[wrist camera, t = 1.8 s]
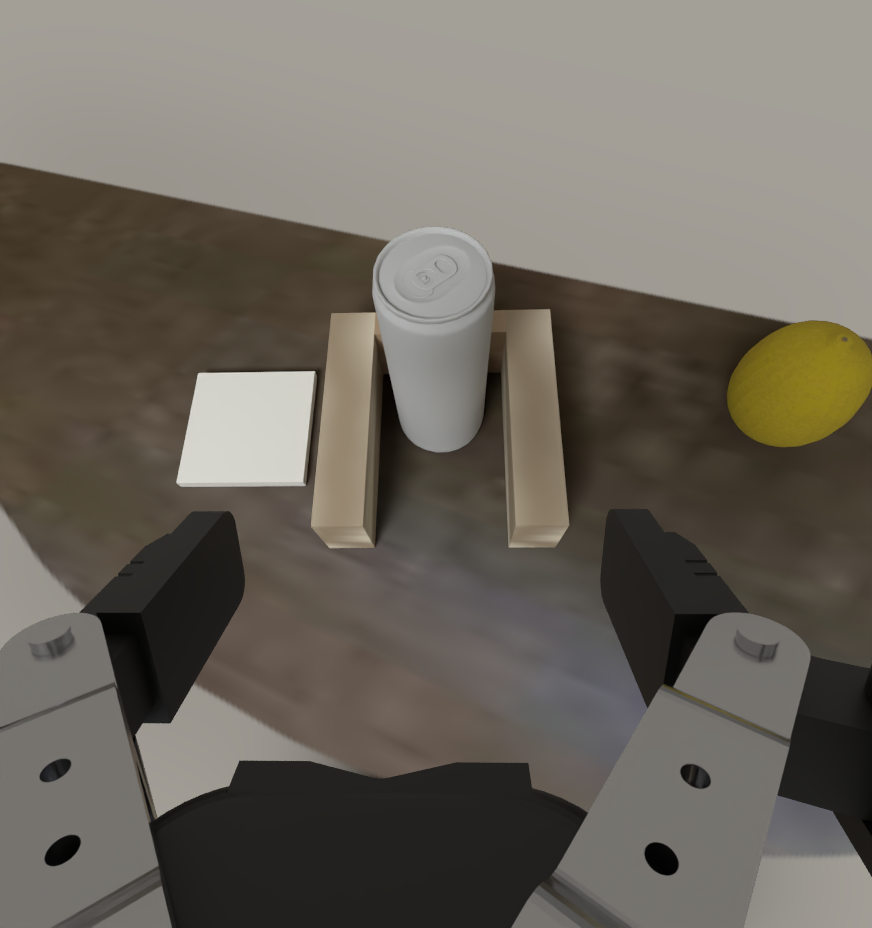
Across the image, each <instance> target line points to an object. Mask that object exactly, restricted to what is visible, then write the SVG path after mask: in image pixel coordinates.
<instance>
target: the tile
mask: <svg viewBox="0 0 872 928" xmlns="http://www.w3.org/2000/svg"><path fill="white" fill-rule="evenodd" d="M316 383H317V375H316V373H315V371H301V372H236V373H198V377H197V382H196V387H195V392H194V397H193V402H192V407H191V412H190V417H189V422H188V427H187V432H186V437H185V442H184V447H183V452H182V457H181V462H180V467H179V472H178V477H177V482H176V483H177V484H178V485H180V486H181V487H223V486H306V480H307V470H308V461H309V451H310V441H311V432H312V422H313V412H314V403H315V393H316Z"/></svg>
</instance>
